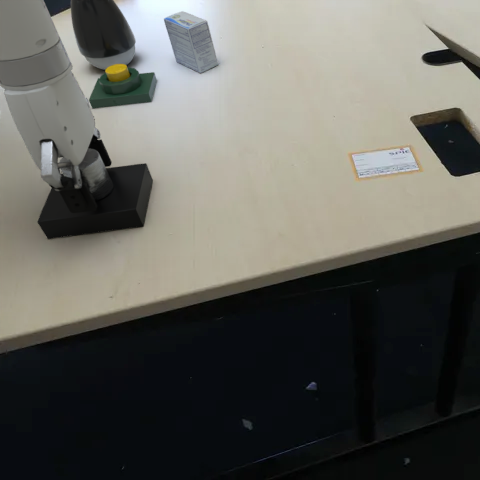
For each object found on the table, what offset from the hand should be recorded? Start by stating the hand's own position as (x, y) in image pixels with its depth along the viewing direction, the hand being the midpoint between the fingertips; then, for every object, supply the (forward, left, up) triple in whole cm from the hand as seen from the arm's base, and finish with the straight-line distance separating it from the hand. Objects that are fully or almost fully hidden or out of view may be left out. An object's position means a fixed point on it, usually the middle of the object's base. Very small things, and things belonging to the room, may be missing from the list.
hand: (92, 187), depth 69 cm
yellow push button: (-2, +32, 0) cm, 32 cm away
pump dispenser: (-6, +45, -4) cm, 46 cm away
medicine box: (+10, +41, -4) cm, 42 cm away
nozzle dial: (0, 0, -1) cm, 1 cm away
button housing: (-2, +32, -4) cm, 32 cm away
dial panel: (0, 0, -4) cm, 4 cm away
